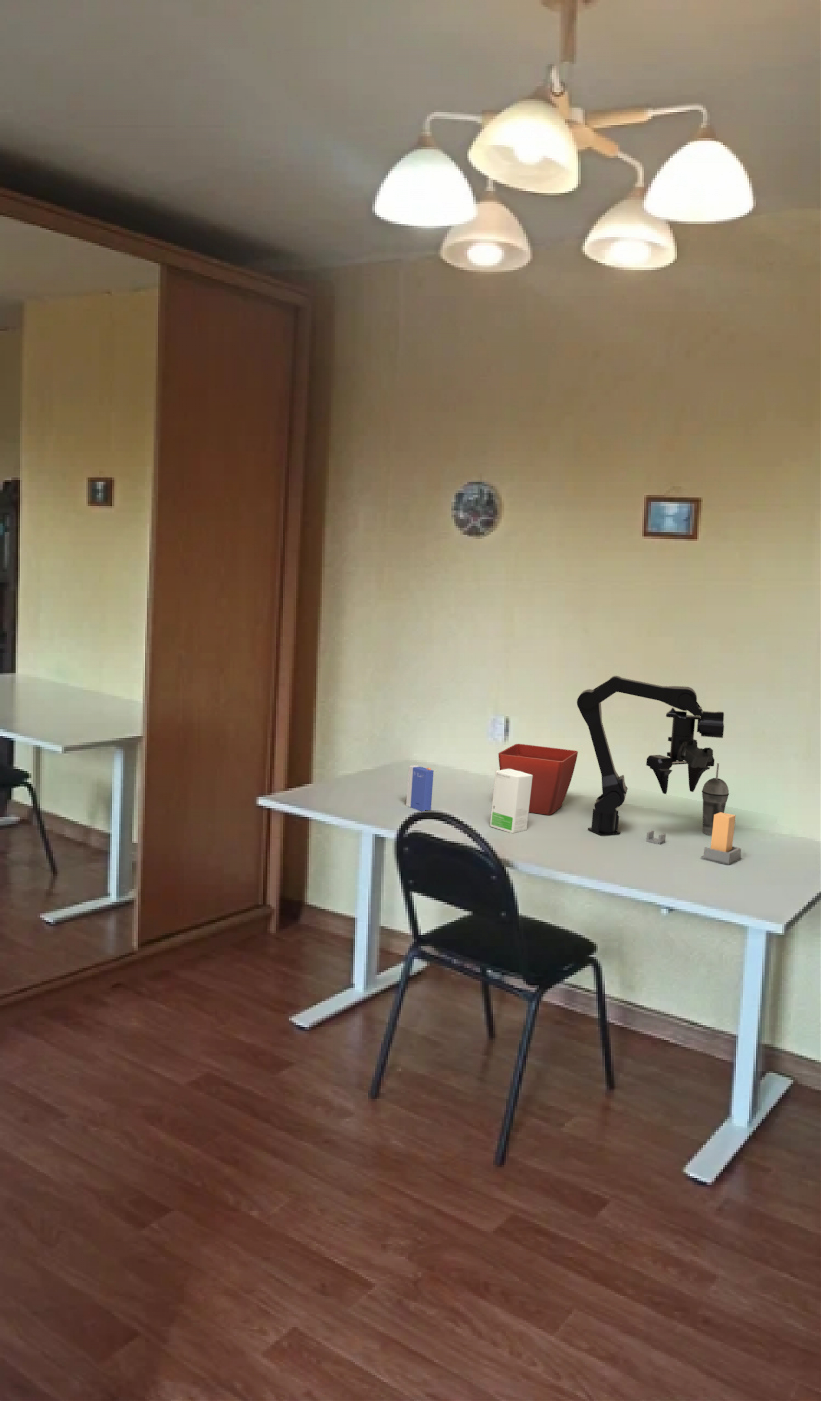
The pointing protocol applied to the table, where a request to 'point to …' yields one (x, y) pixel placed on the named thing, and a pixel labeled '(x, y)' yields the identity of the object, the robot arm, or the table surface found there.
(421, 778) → the walkman
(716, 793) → the beverage cup
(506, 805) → the skincare box
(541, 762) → the plant pot
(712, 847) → the plug
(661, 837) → the clip
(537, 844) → the table surface
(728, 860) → the holder
